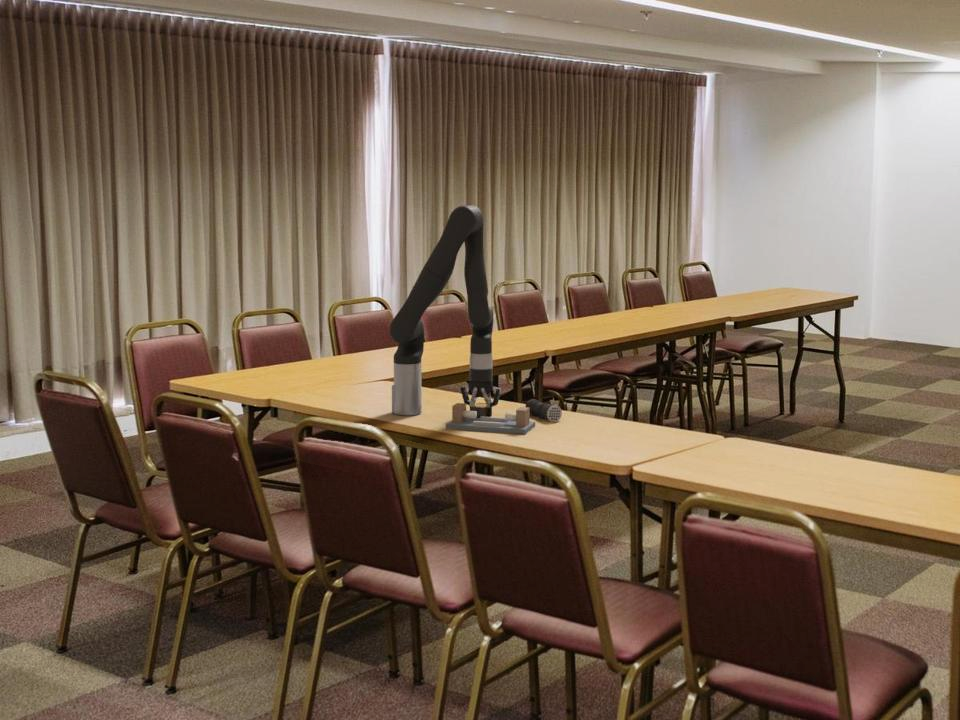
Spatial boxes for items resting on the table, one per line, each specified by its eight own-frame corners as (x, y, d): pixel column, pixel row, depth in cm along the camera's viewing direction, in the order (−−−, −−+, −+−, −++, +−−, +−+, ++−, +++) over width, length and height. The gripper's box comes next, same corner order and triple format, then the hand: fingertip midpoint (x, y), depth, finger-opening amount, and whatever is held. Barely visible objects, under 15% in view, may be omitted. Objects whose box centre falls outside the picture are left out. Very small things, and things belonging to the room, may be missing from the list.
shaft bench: (445, 428, 364) (445, 407, 363) (457, 421, 375) (457, 400, 374) (525, 434, 356) (525, 412, 355) (535, 426, 368) (535, 405, 367)
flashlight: (523, 414, 388) (523, 398, 387) (537, 412, 390) (537, 397, 389) (547, 422, 374) (547, 406, 374) (561, 421, 377) (561, 404, 376)
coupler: (484, 421, 375) (484, 407, 374) (470, 420, 376) (470, 407, 376) (490, 416, 382) (490, 403, 382) (477, 416, 384) (477, 402, 383)
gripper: (456, 367, 375) (456, 418, 378) (498, 369, 371) (498, 421, 374) (463, 363, 382) (463, 414, 385) (505, 365, 378) (504, 417, 381)
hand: (480, 417), depth 379 cm, fingers closed on coupler, 4 cm apart
